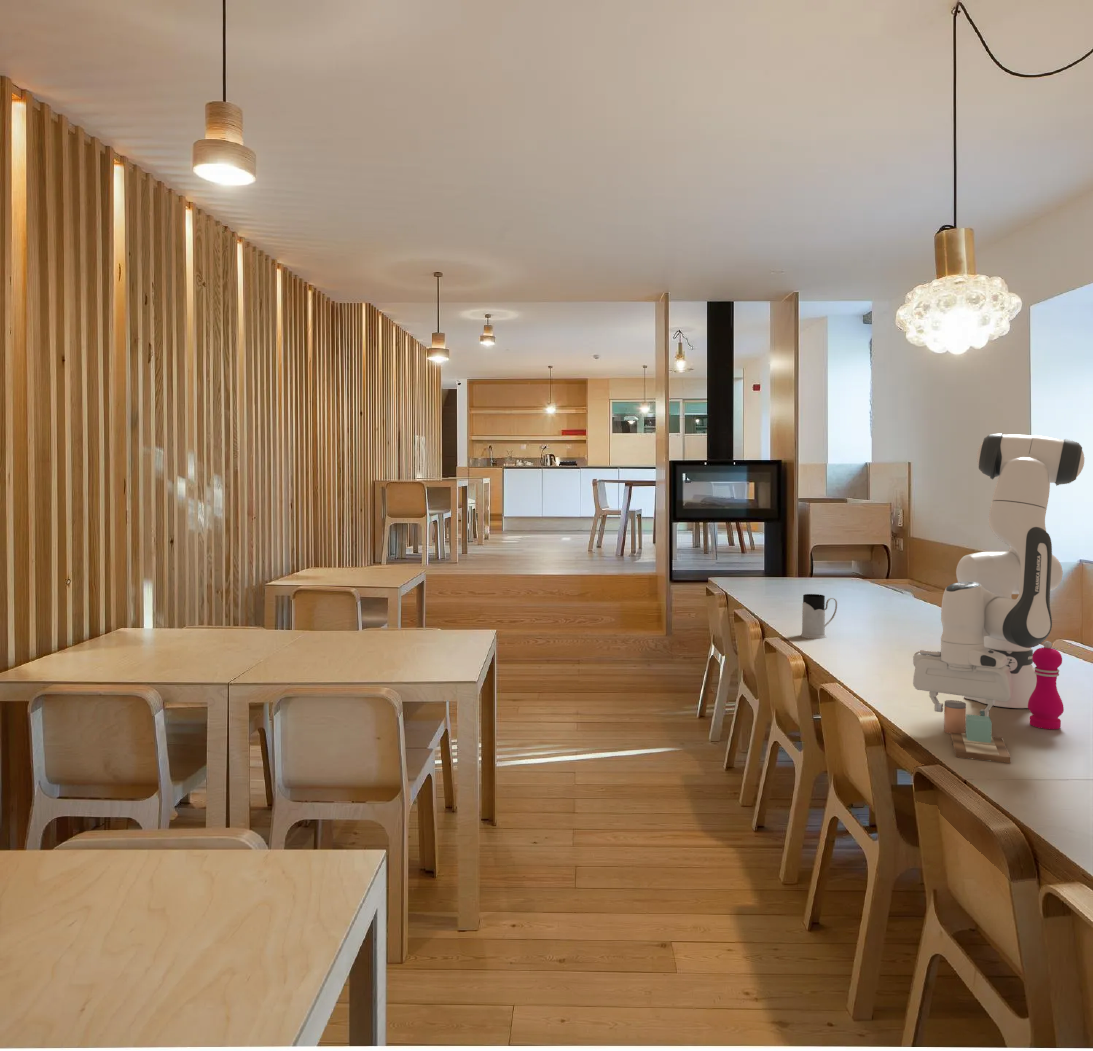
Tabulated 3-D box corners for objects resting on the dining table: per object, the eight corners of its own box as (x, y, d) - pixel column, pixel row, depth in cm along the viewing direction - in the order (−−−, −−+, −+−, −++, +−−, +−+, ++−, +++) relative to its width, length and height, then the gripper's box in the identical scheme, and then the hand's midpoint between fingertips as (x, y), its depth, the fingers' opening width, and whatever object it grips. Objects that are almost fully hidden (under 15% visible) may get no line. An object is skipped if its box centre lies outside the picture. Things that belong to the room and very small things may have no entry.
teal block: (965, 734, 186) (966, 714, 185) (988, 736, 184) (989, 716, 184) (967, 740, 181) (968, 719, 181) (991, 742, 180) (991, 722, 179)
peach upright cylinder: (943, 728, 195) (943, 699, 194) (964, 730, 193) (965, 701, 193) (944, 733, 191) (945, 704, 190) (965, 735, 189) (966, 706, 189)
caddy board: (951, 737, 188) (951, 731, 188) (1001, 742, 184) (1001, 736, 184) (955, 757, 175) (956, 750, 175) (1010, 763, 171) (1010, 756, 171)
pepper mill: (1030, 719, 202) (1032, 636, 200) (1065, 724, 197) (1068, 640, 196) (1024, 726, 196) (1027, 641, 195) (1060, 732, 192) (1063, 645, 190)
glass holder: (795, 634, 309) (796, 594, 308) (828, 632, 313) (829, 592, 312) (810, 639, 300) (810, 597, 300) (843, 636, 305) (844, 595, 304)
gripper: (909, 650, 194) (908, 710, 194) (1009, 661, 181) (1008, 725, 182) (917, 647, 199) (916, 705, 199) (1014, 657, 186) (1013, 719, 187)
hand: (961, 714), depth 190 cm, fingers open, 8 cm apart
